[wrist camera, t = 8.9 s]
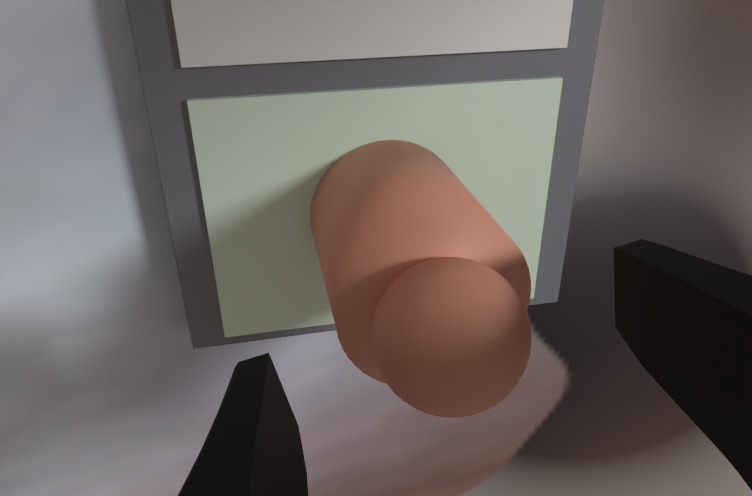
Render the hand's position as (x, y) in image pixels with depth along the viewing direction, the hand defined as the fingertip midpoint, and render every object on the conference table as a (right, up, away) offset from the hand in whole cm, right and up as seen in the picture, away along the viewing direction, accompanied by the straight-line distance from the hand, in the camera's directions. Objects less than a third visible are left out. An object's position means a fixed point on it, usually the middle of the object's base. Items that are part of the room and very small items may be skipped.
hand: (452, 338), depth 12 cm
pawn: (-1, +3, +5) cm, 6 cm away
